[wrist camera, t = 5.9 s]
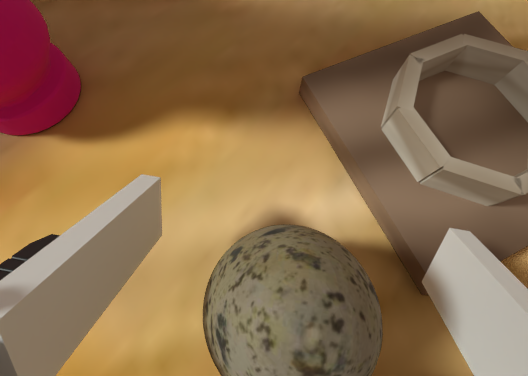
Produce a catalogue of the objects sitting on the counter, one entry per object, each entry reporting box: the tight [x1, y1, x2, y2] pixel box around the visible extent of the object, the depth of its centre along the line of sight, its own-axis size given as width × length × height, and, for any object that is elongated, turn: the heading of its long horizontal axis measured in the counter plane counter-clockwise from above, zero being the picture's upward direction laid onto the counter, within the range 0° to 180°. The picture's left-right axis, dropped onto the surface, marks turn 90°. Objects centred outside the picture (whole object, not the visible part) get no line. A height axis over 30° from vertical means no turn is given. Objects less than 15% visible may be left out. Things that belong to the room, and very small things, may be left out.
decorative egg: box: [203, 225, 382, 376], centre depth 10 cm, size 6×6×10 cm
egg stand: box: [299, 11, 528, 295], centre depth 16 cm, size 14×14×4 cm
